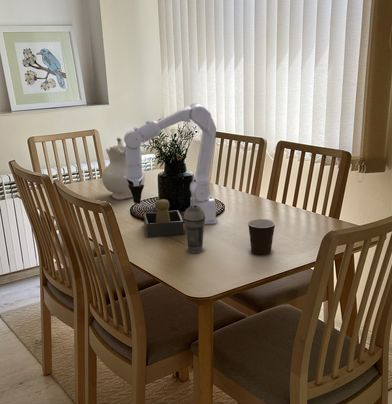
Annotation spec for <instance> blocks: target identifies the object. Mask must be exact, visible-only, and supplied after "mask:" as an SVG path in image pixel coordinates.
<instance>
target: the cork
mask: <svg viewBox="0 0 392 404" xmlns="http://www.w3.org/2000/svg"><path fill="white" fill-rule="evenodd" d="M154 206H155V209H156V212H157V215H156V223H163V222H170V217H169V211H170V210H169V208H170V202H169V200H168V199H163V198H162V199H157V200H156V201H155V202H154Z"/></svg>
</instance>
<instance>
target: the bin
mask: <svg viewBox="0 0 392 404" xmlns="http://www.w3.org/2000/svg"><path fill="white" fill-rule="evenodd" d="M168 211H169V217H170V222H163V223H156V215H157V211H153V212H143V225H144V230H145V234H146V237H147V238H158V237H167V236H168V237H169V236H179V235H180V236H181V235H184V234H185V230H184V229H185V228H184V226H185V224H184V219H183V217H182V216H181V213H180V211H179V210H178V209H177V210H168Z"/></svg>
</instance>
